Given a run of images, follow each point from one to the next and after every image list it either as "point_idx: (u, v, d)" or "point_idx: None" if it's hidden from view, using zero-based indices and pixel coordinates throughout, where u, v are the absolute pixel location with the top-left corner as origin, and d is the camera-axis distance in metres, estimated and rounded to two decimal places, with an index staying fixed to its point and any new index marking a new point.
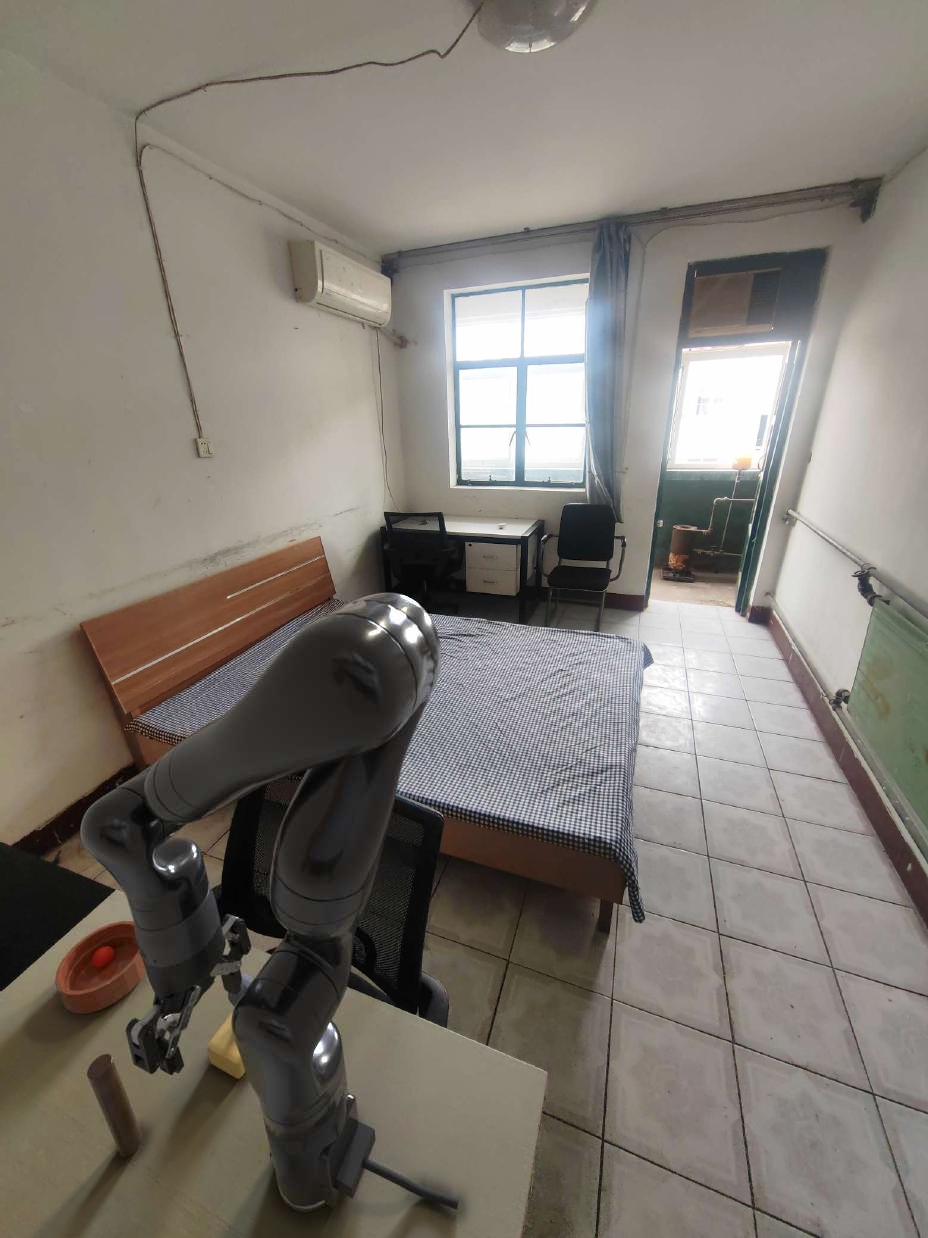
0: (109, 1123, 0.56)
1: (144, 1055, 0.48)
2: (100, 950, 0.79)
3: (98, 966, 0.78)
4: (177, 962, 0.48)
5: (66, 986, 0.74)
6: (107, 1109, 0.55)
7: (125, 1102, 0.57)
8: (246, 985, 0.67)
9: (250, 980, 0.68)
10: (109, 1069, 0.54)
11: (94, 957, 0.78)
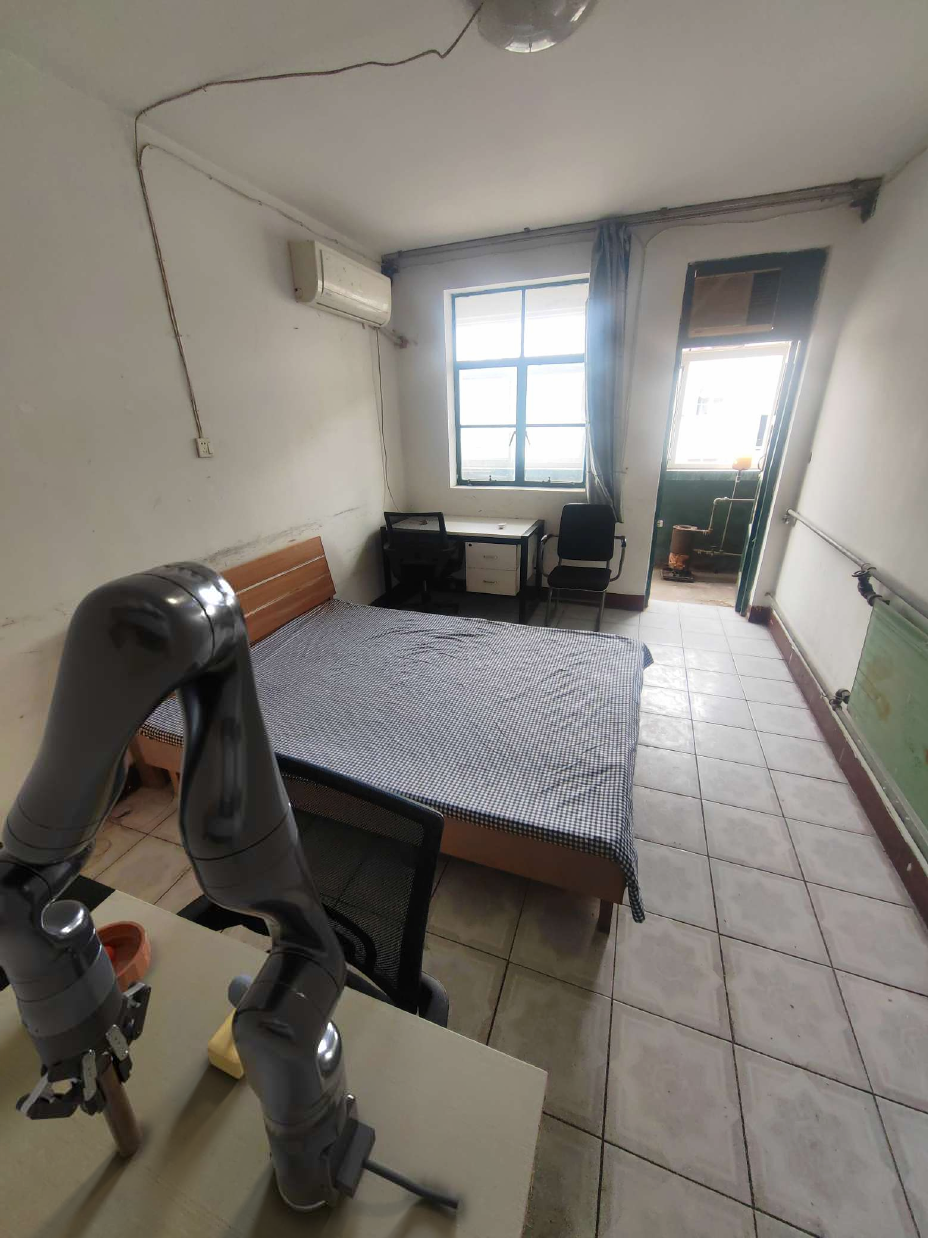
0: (109, 1123, 0.56)
1: None
2: None
3: None
4: (60, 1031, 0.47)
5: None
6: (107, 1109, 0.55)
7: (125, 1102, 0.57)
8: (246, 985, 0.67)
9: (250, 980, 0.68)
10: (109, 1069, 0.54)
11: None
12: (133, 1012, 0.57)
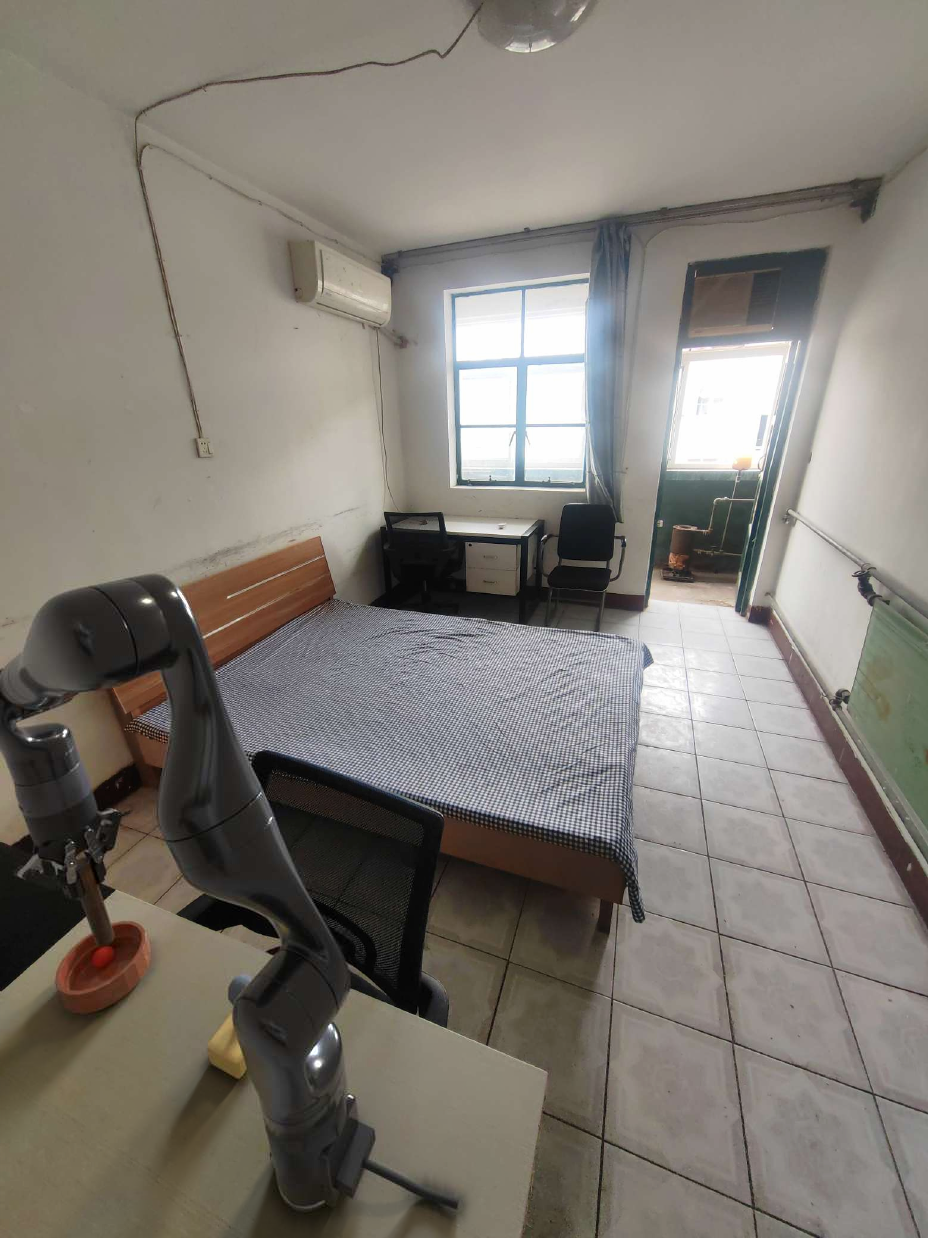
0: (87, 913, 0.71)
1: (38, 884, 0.64)
2: (100, 950, 0.79)
3: (98, 966, 0.78)
4: (48, 814, 0.62)
5: (66, 986, 0.74)
6: (85, 900, 0.70)
7: (100, 899, 0.72)
8: (246, 985, 0.67)
9: (250, 980, 0.68)
10: (87, 866, 0.69)
11: (94, 957, 0.78)
12: (107, 829, 0.72)
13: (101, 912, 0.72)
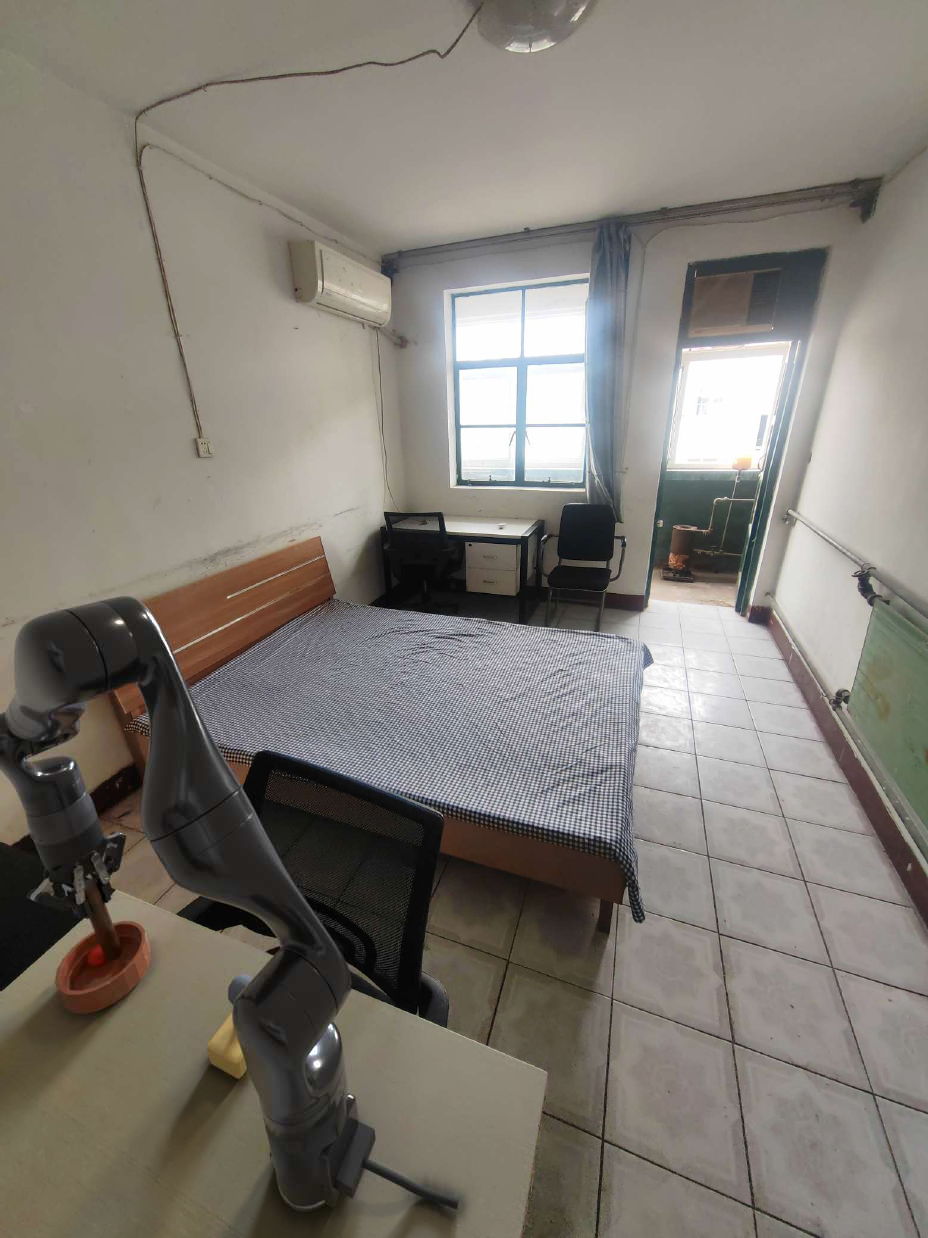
0: (96, 931, 0.76)
1: (50, 906, 0.69)
2: (92, 949, 0.80)
3: (93, 963, 0.78)
4: (57, 841, 0.67)
5: (66, 986, 0.74)
6: (94, 918, 0.75)
7: (107, 916, 0.77)
8: (246, 985, 0.67)
9: (250, 980, 0.68)
10: (94, 887, 0.74)
11: None
12: (112, 852, 0.77)
13: (109, 929, 0.77)
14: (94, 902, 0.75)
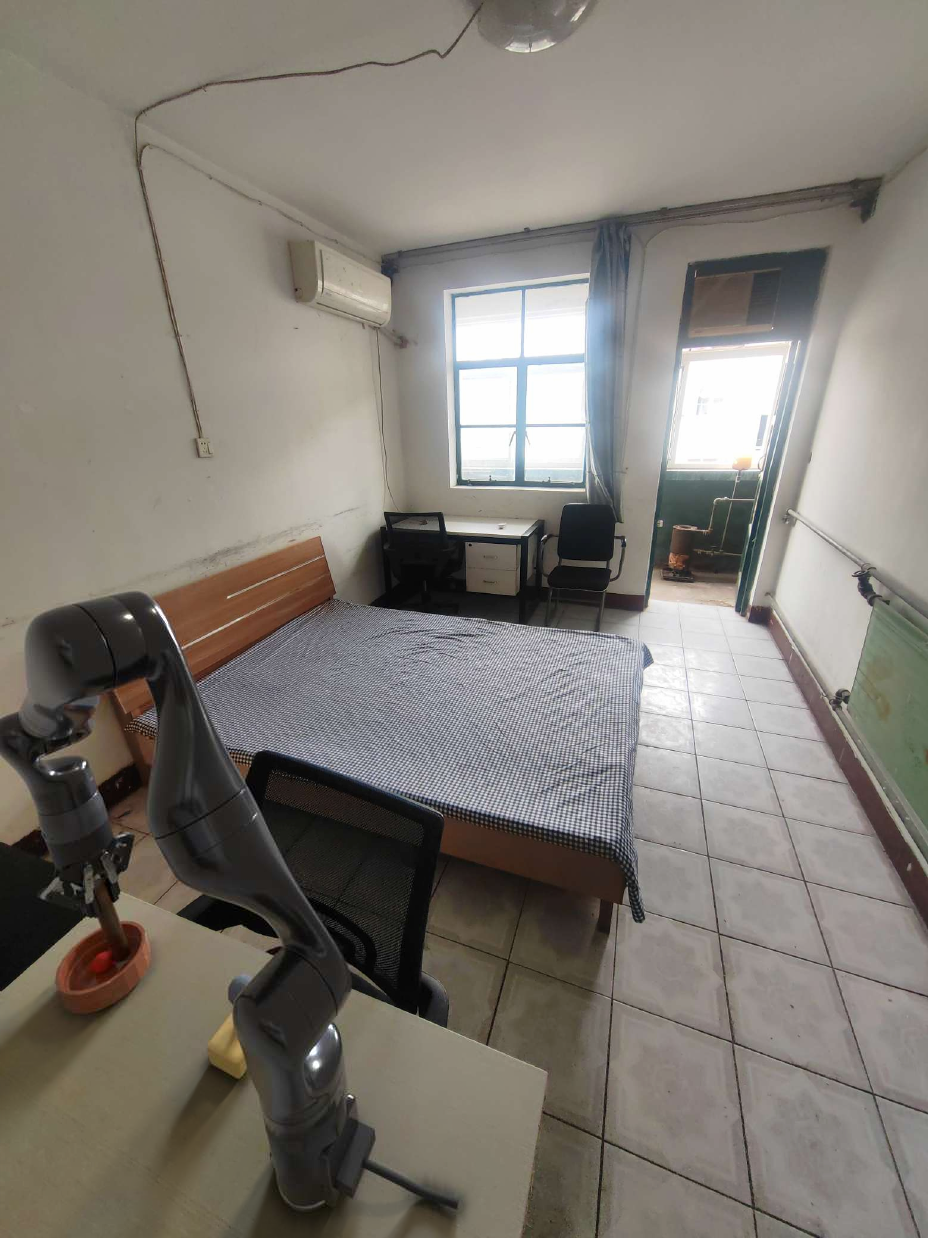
0: (105, 931, 0.76)
1: (60, 905, 0.69)
2: (105, 957, 0.78)
3: (95, 972, 0.77)
4: (68, 841, 0.67)
5: (66, 986, 0.74)
6: (102, 917, 0.75)
7: (116, 916, 0.77)
8: None
9: (250, 980, 0.68)
10: (102, 885, 0.75)
11: (97, 962, 0.78)
12: (121, 851, 0.78)
13: (117, 928, 0.77)
14: (103, 901, 0.75)
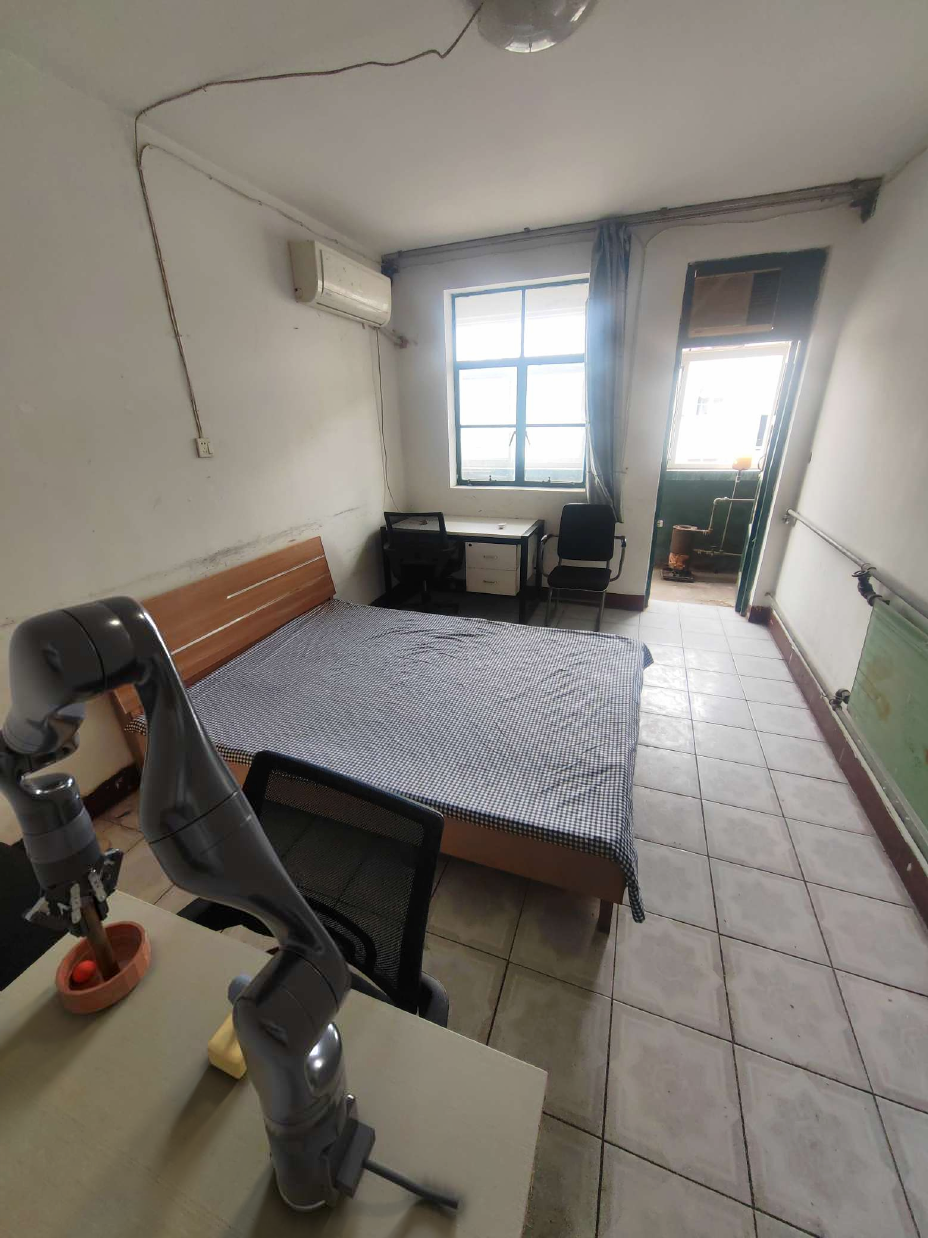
0: (93, 950, 0.75)
1: None
2: (73, 977, 0.76)
3: None
4: (54, 860, 0.66)
5: (66, 986, 0.74)
6: (90, 936, 0.74)
7: (104, 934, 0.76)
8: (246, 985, 0.67)
9: (250, 980, 0.68)
10: (90, 904, 0.73)
11: None
12: (109, 869, 0.76)
13: (106, 947, 0.76)
14: (90, 920, 0.73)
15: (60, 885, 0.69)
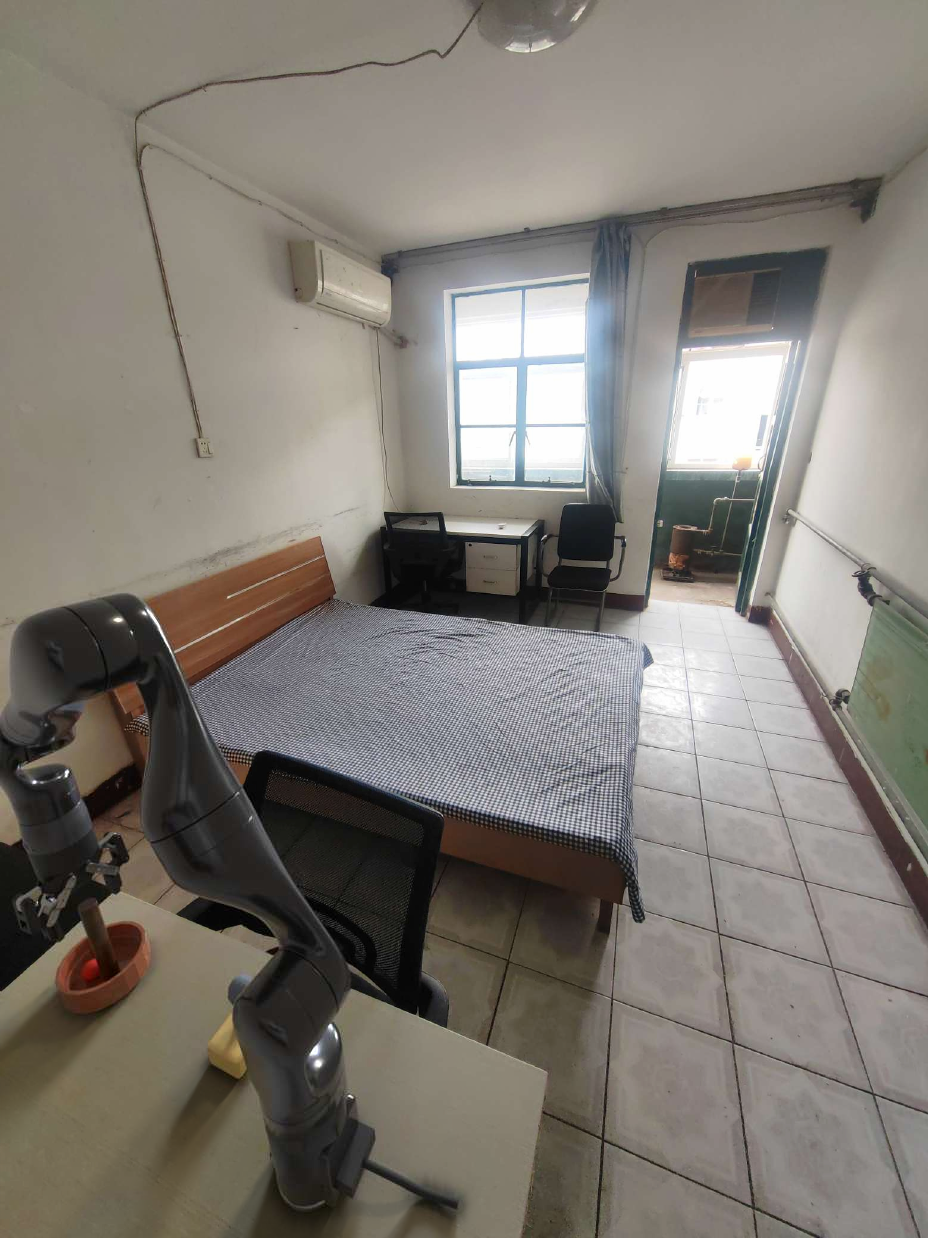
0: (95, 951, 0.75)
1: (26, 919, 0.65)
2: (86, 971, 0.76)
3: (90, 980, 0.77)
4: (51, 851, 0.65)
5: (66, 986, 0.74)
6: (93, 938, 0.74)
7: (106, 936, 0.76)
8: (246, 985, 0.67)
9: (250, 980, 0.68)
10: (94, 906, 0.73)
11: (82, 977, 0.76)
12: (114, 850, 0.76)
13: (108, 949, 0.76)
14: (94, 922, 0.73)
15: (57, 877, 0.68)
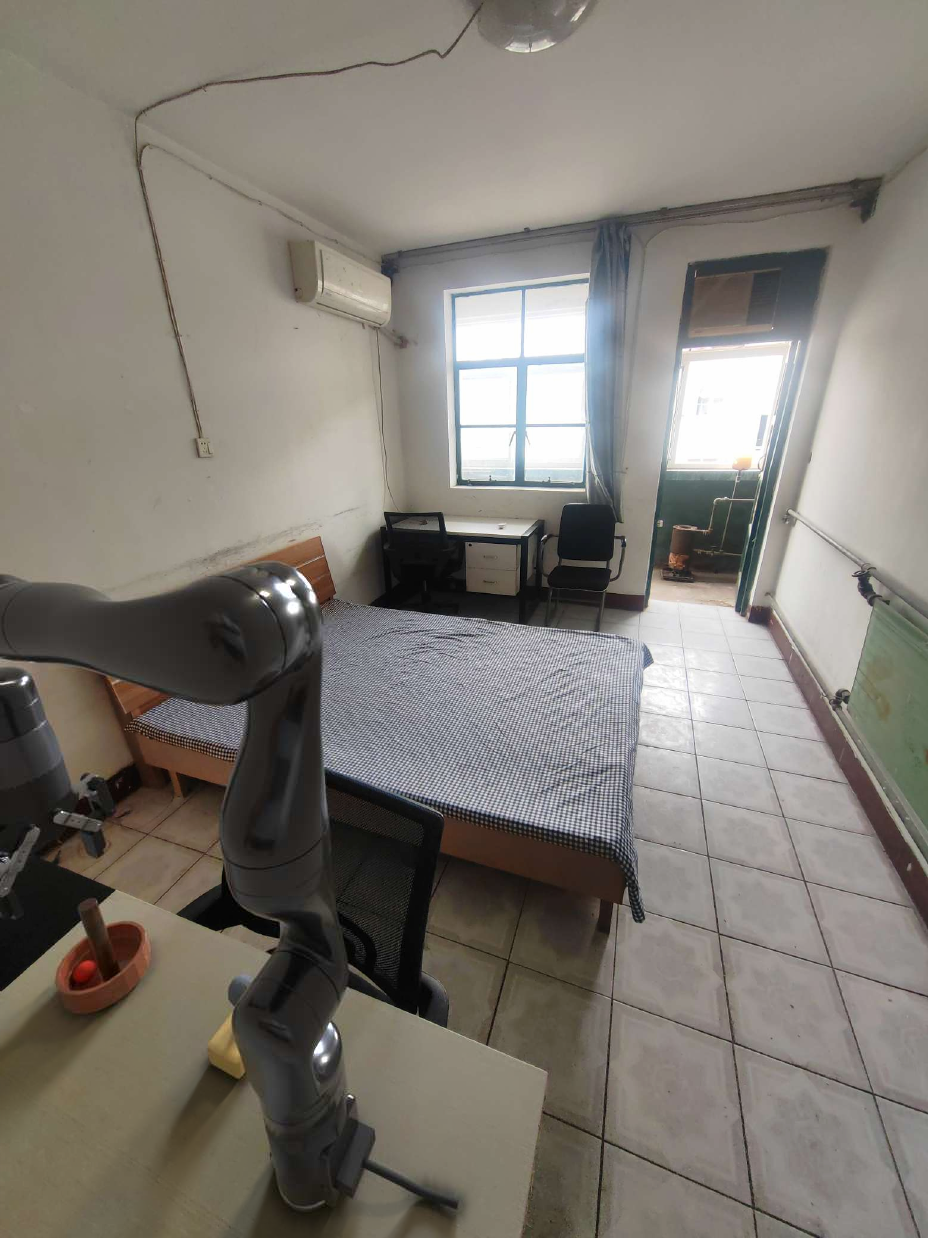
0: (95, 951, 0.75)
1: None
2: (74, 977, 0.76)
3: None
4: (0, 788, 0.46)
5: (66, 986, 0.74)
6: (93, 938, 0.74)
7: (106, 936, 0.76)
8: (246, 985, 0.67)
9: (250, 980, 0.68)
10: (94, 906, 0.73)
11: None
12: (95, 798, 0.57)
13: (108, 949, 0.76)
14: (94, 922, 0.73)
15: (11, 827, 0.48)
